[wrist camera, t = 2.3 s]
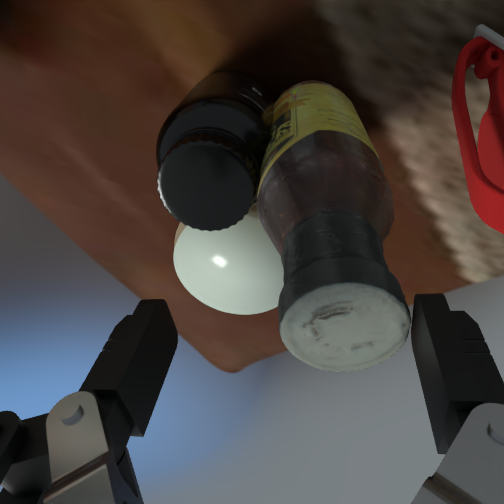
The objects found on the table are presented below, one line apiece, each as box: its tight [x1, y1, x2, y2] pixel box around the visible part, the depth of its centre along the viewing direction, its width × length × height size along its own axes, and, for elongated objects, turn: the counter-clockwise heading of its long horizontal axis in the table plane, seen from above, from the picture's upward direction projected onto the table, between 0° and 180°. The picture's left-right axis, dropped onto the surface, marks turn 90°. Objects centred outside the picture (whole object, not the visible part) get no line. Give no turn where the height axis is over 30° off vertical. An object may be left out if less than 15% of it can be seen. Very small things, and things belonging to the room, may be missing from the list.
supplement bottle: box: [156, 70, 275, 232], centre depth 24 cm, size 7×7×12 cm
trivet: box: [174, 204, 284, 315], centre depth 35 cm, size 12×12×2 cm
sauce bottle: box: [257, 80, 411, 372], centre depth 20 cm, size 7×6×20 cm
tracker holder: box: [451, 24, 504, 234], centre depth 23 cm, size 12×4×10 cm, turn 18°
